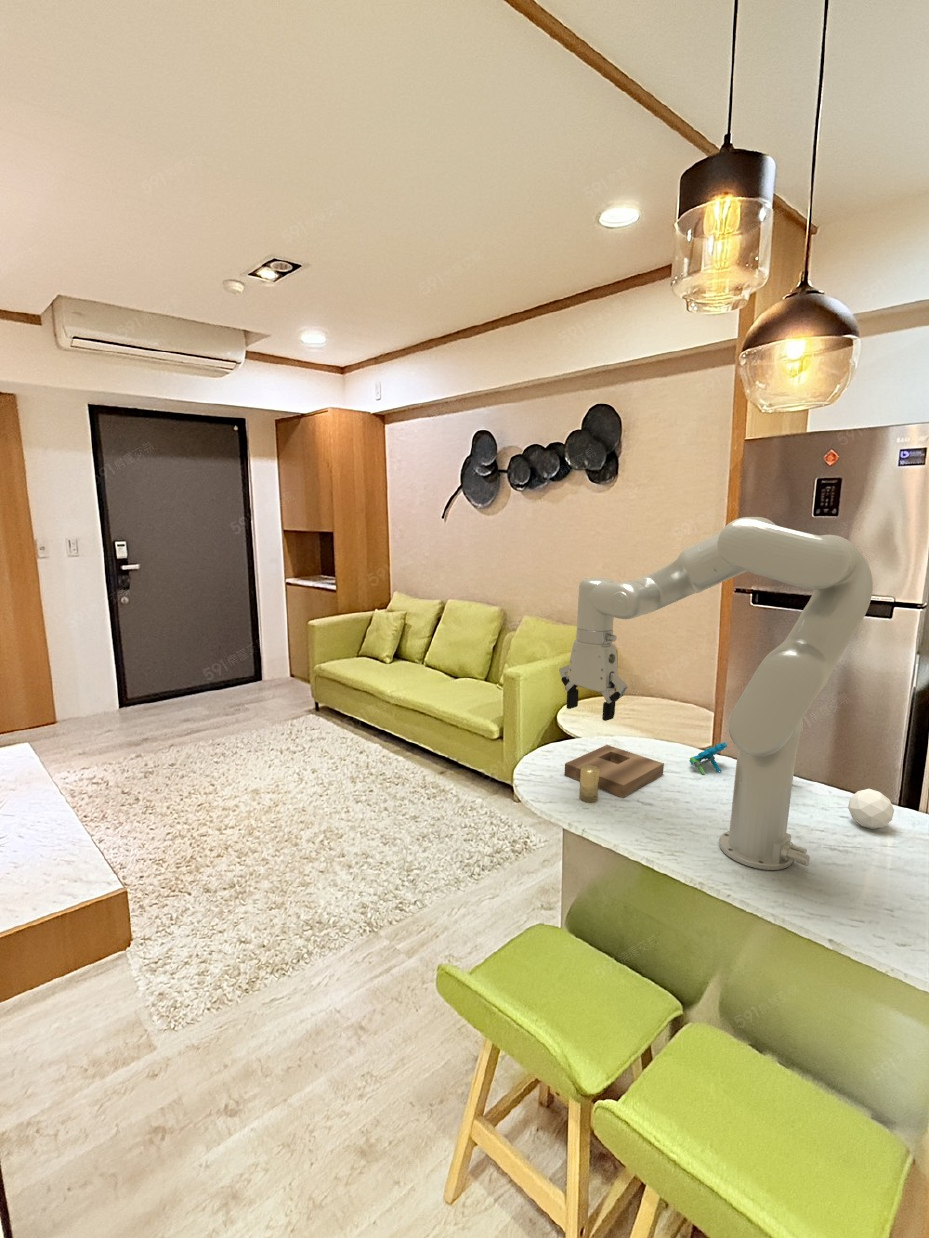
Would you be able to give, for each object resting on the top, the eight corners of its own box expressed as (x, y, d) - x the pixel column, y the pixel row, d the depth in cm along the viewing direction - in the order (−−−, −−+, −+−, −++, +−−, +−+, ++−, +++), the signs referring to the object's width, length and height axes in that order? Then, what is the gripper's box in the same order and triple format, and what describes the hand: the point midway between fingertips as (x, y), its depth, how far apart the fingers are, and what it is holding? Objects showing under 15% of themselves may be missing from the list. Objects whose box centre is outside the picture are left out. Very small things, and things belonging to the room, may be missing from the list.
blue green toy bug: (709, 752, 162) (731, 736, 154) (722, 773, 159) (745, 757, 151) (677, 764, 157) (698, 748, 150) (690, 786, 155) (712, 771, 147)
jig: (663, 775, 151) (663, 763, 151) (622, 797, 139) (623, 785, 138) (606, 755, 162) (606, 744, 162) (564, 775, 150) (564, 763, 149)
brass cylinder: (601, 799, 138) (603, 769, 137) (590, 804, 135) (592, 774, 134) (586, 792, 141) (587, 763, 140) (575, 798, 138) (577, 768, 137)
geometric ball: (877, 842, 127) (896, 826, 121) (836, 819, 131) (853, 802, 125) (886, 814, 131) (906, 797, 125) (847, 793, 135) (864, 775, 129)
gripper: (639, 641, 129) (633, 720, 132) (573, 628, 142) (569, 700, 145) (617, 646, 124) (612, 728, 127) (551, 631, 137) (548, 706, 140)
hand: (589, 713), depth 136 cm, fingers open, 9 cm apart
